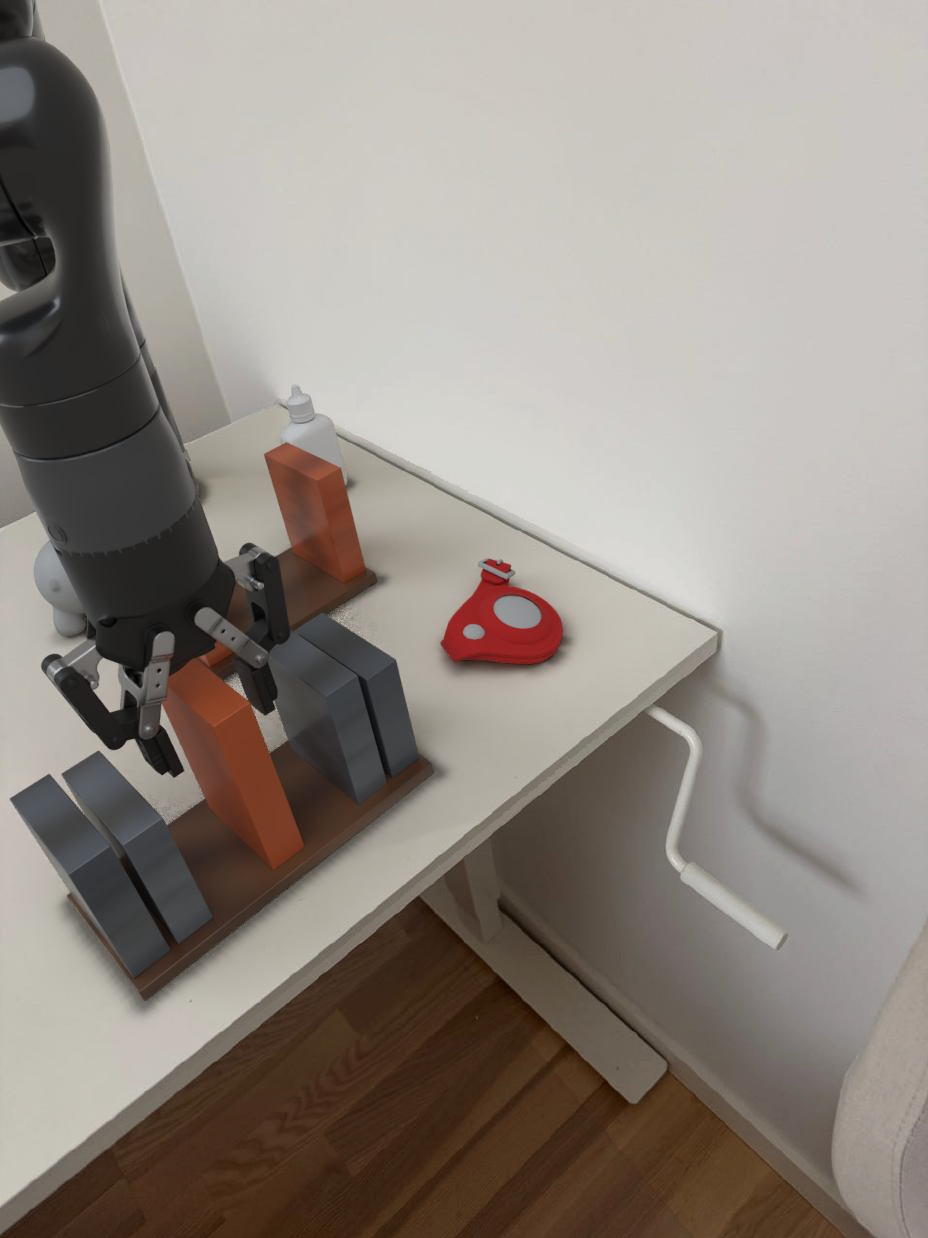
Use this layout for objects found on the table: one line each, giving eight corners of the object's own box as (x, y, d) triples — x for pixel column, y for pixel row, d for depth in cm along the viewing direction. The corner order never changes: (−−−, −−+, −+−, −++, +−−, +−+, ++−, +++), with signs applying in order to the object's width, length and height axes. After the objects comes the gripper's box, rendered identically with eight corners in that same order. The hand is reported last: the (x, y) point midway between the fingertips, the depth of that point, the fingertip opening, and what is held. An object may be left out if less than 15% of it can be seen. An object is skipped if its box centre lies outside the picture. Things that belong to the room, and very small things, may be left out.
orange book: (209, 807, 66) (144, 666, 58) (239, 786, 67) (180, 645, 59) (273, 871, 61) (213, 727, 53) (305, 847, 62) (250, 702, 54)
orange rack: (158, 635, 84) (110, 525, 77) (312, 544, 92) (282, 437, 85) (217, 683, 77) (171, 569, 70) (377, 581, 86) (351, 469, 78)
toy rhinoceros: (161, 559, 93) (131, 484, 88) (124, 637, 84) (88, 559, 79) (91, 566, 94) (56, 492, 89) (47, 645, 85) (5, 567, 80)
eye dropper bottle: (294, 489, 101) (263, 383, 93) (345, 476, 101) (320, 370, 94) (299, 509, 97) (268, 401, 90) (352, 495, 98) (326, 387, 90)
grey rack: (71, 904, 62) (-3, 792, 55) (347, 709, 73) (314, 595, 66) (144, 1002, 56) (71, 889, 49) (434, 772, 67) (407, 654, 60)
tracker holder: (591, 630, 74) (486, 663, 69) (576, 669, 77) (474, 704, 72) (506, 536, 81) (405, 560, 76) (495, 575, 84) (397, 601, 79)
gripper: (203, 426, 54) (279, 651, 64) (-46, 546, 47) (84, 776, 57) (278, 463, 49) (346, 700, 60) (14, 603, 42) (143, 842, 53)
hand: (217, 736), depth 58 cm, fingers open, 6 cm apart
